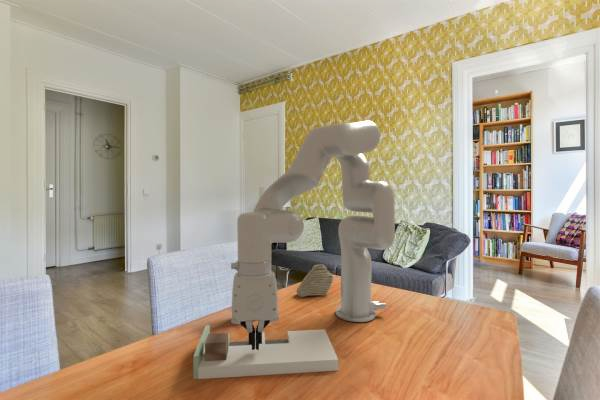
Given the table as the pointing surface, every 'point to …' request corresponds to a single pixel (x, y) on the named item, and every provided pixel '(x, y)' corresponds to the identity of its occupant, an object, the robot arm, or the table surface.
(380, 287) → the table surface
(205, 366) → the board
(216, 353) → the walnut block
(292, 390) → the table surface
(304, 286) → the fossil tooth
